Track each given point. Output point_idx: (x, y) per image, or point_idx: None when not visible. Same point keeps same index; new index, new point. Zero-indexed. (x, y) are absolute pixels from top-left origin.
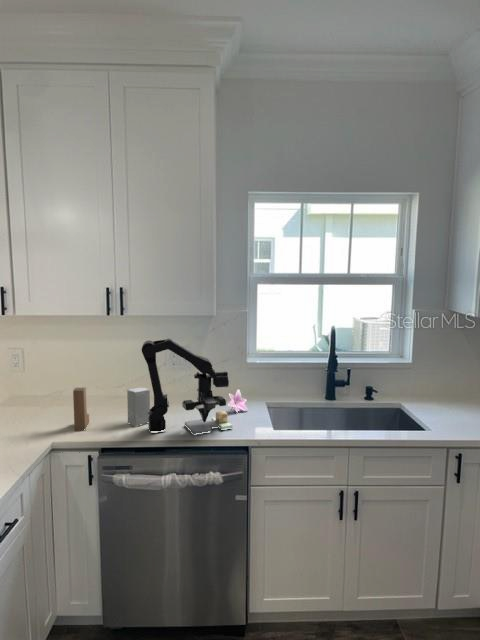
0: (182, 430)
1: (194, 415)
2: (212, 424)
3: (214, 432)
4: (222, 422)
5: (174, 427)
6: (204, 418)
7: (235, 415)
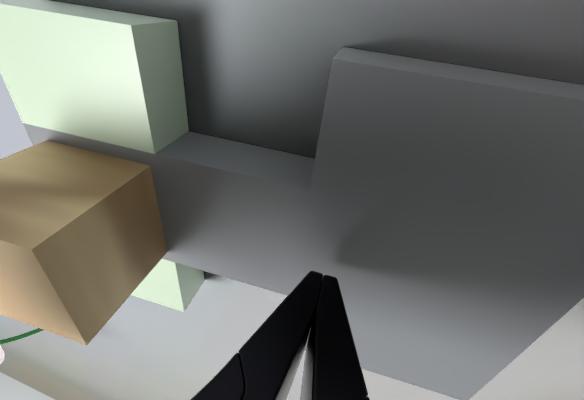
0: (581, 314)
1: None
2: (238, 188)
3: (290, 35)
4: (99, 157)
5: (564, 388)
6: (323, 321)
7: None
